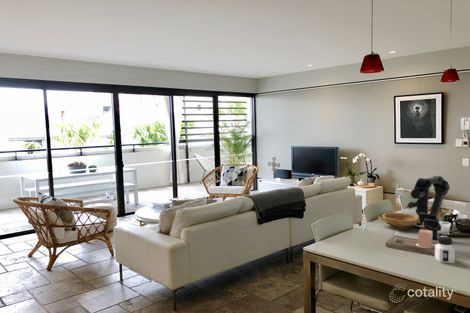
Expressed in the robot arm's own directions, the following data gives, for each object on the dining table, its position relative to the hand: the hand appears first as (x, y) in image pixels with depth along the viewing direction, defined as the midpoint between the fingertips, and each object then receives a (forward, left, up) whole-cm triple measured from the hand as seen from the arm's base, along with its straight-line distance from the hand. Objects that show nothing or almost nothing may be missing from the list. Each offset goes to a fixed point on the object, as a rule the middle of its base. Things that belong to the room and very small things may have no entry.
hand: (421, 222), depth 231 cm
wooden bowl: (-32, -21, -13) cm, 41 cm away
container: (+25, +18, -13) cm, 33 cm away
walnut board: (+11, -1, -13) cm, 17 cm away
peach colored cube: (+14, +6, -10) cm, 18 cm away
